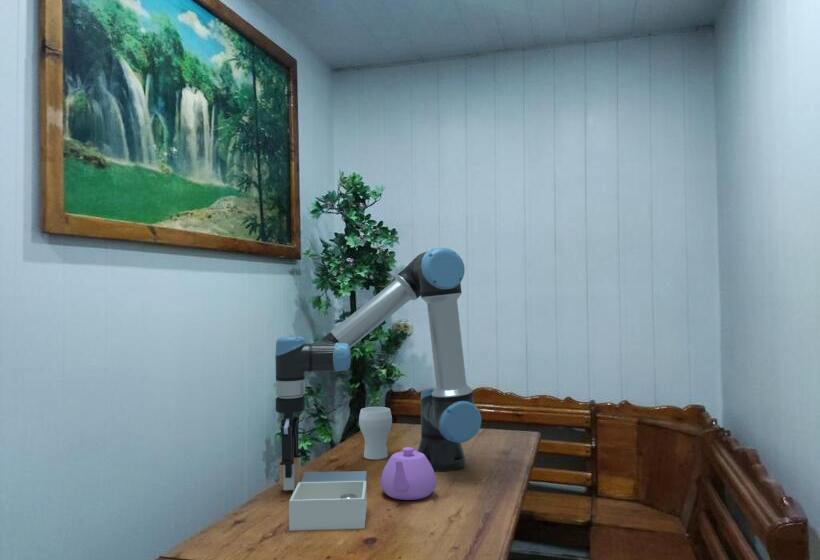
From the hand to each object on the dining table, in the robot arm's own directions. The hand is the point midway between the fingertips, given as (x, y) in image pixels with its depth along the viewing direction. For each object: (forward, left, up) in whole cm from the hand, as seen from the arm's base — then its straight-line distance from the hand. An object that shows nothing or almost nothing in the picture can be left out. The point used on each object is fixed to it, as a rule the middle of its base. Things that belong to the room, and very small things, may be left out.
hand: (290, 486), depth 139 cm
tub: (-12, +19, -2) cm, 23 cm away
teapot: (-30, +5, -2) cm, 31 cm away
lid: (-8, 0, +1) cm, 9 cm away
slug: (-16, +17, -1) cm, 24 cm away
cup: (-21, -33, -2) cm, 39 cm away
